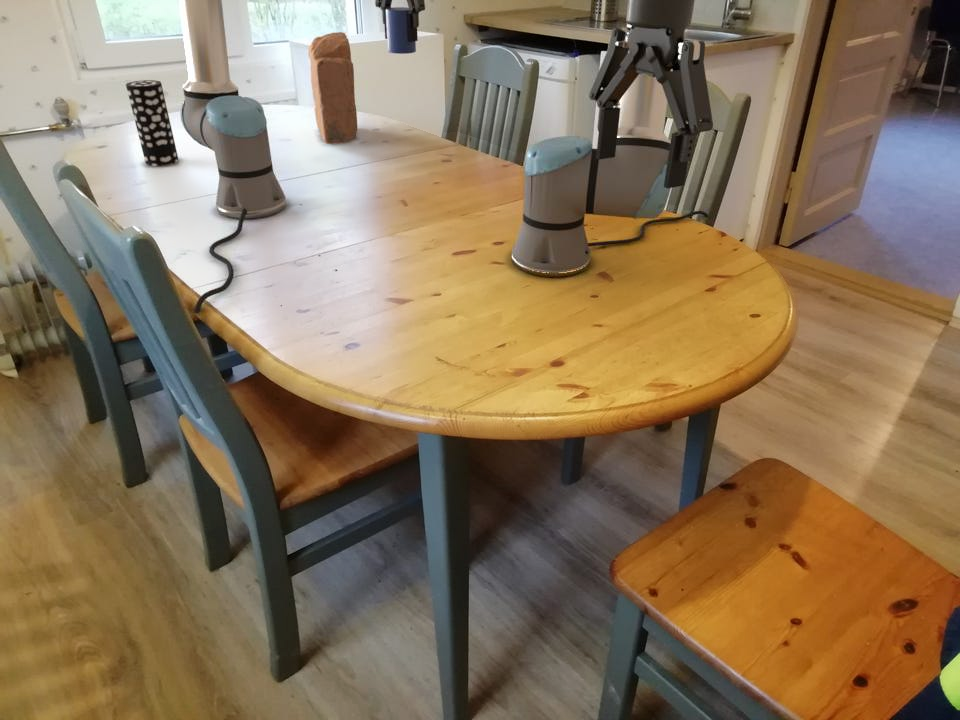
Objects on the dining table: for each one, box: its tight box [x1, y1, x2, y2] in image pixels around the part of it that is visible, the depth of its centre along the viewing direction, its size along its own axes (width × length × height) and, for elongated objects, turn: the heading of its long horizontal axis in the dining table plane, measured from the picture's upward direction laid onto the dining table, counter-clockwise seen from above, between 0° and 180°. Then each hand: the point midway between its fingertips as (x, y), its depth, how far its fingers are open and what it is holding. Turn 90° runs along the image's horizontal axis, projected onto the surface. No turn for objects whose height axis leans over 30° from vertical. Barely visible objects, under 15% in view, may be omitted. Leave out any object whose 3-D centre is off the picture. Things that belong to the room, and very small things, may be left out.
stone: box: [308, 31, 358, 145], centre depth 203 cm, size 22×11×28 cm, turn 18°
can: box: [386, 6, 417, 55], centre depth 178 cm, size 7×7×10 cm
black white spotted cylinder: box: [125, 79, 179, 167], centre depth 181 cm, size 8×8×20 cm
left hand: (401, 39), depth 179 cm, fingers closed on can, 7 cm apart
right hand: (637, 171), depth 90 cm, fingers open, 13 cm apart
